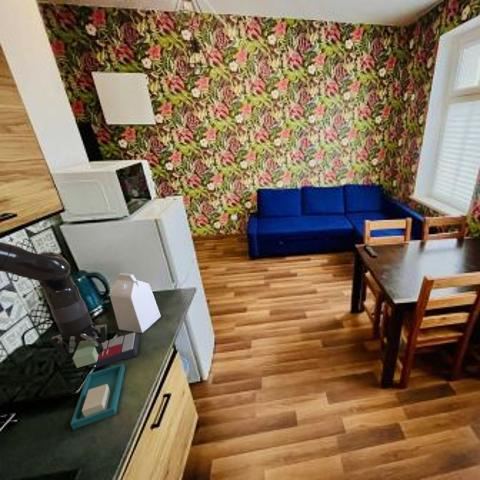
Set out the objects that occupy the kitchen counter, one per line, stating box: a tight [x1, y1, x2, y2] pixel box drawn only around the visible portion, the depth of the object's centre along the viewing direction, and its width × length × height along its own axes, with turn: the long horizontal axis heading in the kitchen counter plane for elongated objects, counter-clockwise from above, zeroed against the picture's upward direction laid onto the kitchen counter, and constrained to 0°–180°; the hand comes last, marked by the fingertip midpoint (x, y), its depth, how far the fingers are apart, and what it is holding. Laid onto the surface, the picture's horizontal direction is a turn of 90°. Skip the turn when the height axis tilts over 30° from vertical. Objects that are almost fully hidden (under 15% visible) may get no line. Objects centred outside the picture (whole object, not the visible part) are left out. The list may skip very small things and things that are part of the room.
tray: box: [70, 363, 126, 430], centre depth 90 cm, size 11×20×2 cm, turn 27°
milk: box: [109, 272, 162, 334], centre depth 119 cm, size 12×12×26 cm
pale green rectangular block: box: [72, 340, 99, 369], centre depth 87 cm, size 5×8×4 cm, turn 27°
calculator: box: [86, 332, 140, 370], centre depth 106 cm, size 11×4×15 cm
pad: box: [82, 384, 110, 417], centre depth 86 cm, size 5×8×4 cm, turn 27°
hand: (89, 355), depth 88 cm, fingers closed on pale green rectangular block, 5 cm apart
